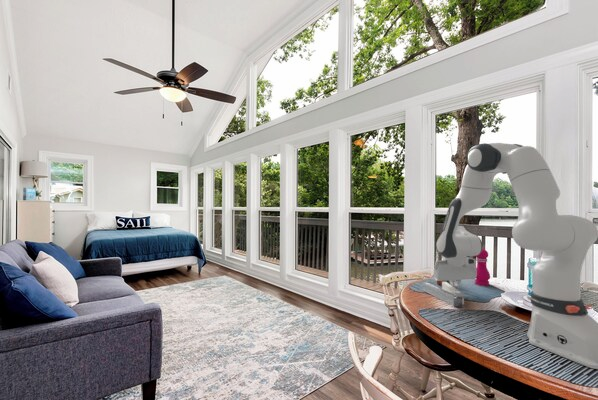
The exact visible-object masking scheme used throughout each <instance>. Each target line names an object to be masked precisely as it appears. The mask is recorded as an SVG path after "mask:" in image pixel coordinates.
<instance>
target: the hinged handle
mask: <svg viewBox="0 0 598 400" xmlns="http://www.w3.org/2000/svg"><path fill="white" fill-rule="evenodd" d="M441 289H443V290H445V291H448V292H450V293H452V294H454V295H455V296H456V297H460V298H462V305H465V299H467V298H469V297H468V295H466V293H463V292H461V291H460V290H459V289H455V288H454V287H453V286H451V285H450V284H449V283H447V282H442V285H441Z"/></svg>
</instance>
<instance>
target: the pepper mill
mask: <svg viewBox="0 0 598 400" xmlns="http://www.w3.org/2000/svg"><path fill="white" fill-rule="evenodd" d="M475 257H476V258H475V260H476V269H477V277H476V278H475V279H474V284H475V285H478V286H483V287H488V286H489V285H490V281H489V280H490V279H491V275H490V271H489V270H488V268H487V263H488V259H487V258H488V257H489V251H487V249H484V247H483V248H482V251H481V253H480V254H479V255H476V256H475Z"/></svg>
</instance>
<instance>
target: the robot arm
mask: <svg viewBox="0 0 598 400" xmlns="http://www.w3.org/2000/svg"><path fill="white" fill-rule="evenodd" d="M466 163H467V165H466V166H465V168H464V173H463V174H462V179H461V185H460V189H459V192H458V194H457V195H456V197H455V198H454V199H452V201H450V202H449V203H450V204H449V206H448V208H447V212H446V214H445V219H444V220H443V221H444V222H443V225H442V228H441V231H440V233H439V235H438V237H437V238H436V239H437V240H436V243H435V248H436V250H437V252H438V254H440V256H442V257H443V259H439V260H436V261H435V262H434V264H433V265H434V266H433V275H432V276H433V279H434V280H436V281H437V280H438V281H448V280H449V282H450V284H451V286H453V287H454V288H455V289H457V290H459V289H460V288H459V287H460V285H461V283H462V281H463V280H476V277H477V269H476V268H477V261H476V258H472V257H476V255H479V254H480V253H481V251H482V248H483V249H484V246H483V245H484V244H483V241H482V239H481V238H480V237H479V236H478V235H476V234H473V233H471V232H469V231H468V230H466V227H464V226H463V225H462V224H461V225H460V221H461V220H462V218H463V216H465V215H466V214H467V213H470V212H472V211H474V210H478V209H480V208H482V207H484V206H485V205H486V204H487V203H488V202H489V201H490V199H491V196H492V190H493V184H494V178H495V176H497V175H498V174H504V175H505V174H506V175H507V177H508V179H509V182H510V185H511V187H512V191H513V192H514V195H515V198H516V201H517V205H518V207H517V208H518V217H517V220H516V221H515V223H514V224H513V226H512V229H511V234H512V235H511V236H512V239H513V240H514V242H515V244H516V245H517V246H519V247H520V248H522V249H524V250H528V251H533V252H538V253H541V252H542V254H541V256H540V258H539V259H538V260H537V262H536V263H535V264H534V265H533V266H532V269H531V276H532V277H531V279H532V280H531V282H532V290H531V292H530V303H531V304H532V305H531V306H532V309H531V317H530V323H529V327H528V330H527V332H526V335H527V338H528V343H529V344H530V345H534V346H536V347H538V348H540V349H543V350H545V351H547V352H550V353H552V354H555V355H558V356H560V357H562V358H565V359H567V360H570V361H572V362H575V363H578V364H580V365H582V366H585V367H587V368H591V369H596V370H598V322H597V321H596V320H595V319H594V318H593V317H592V316H591V315H589V311H588V310H592V308H593V307H592V305H591V304H586V305H585V303H584V300H583V299H582V298H581V275H582V270H583V269H582V268H583V265H584V262H585V260H586V256H587V253H588V251H589V250H590V247H591V246H592V245H593V244H594V243H596V241H597V240H598V227H597V226H596V224H595V223H594V222H593V221H592V220H590V219H588V218H586V217H581V216H578V215H572V214H558V209H557V200H558V199H559V198H560V195H561V190H560V188H559V186H558V184H557V181H556V179H555V177H554V176H553V173H552V171H551V169H550V167H549V165H548V163H547V162H546V160H545V158H544V157H543V156H542V154H541V153H540V152H539V151H538V149H537V148H535V147H533V146H530V145H521V144H517V143H512V144H511V143H503V142H496V143H495V142H492V143H485V142H484V143H479V144H476V145H473V146H472V147H470V149H469V150H468V152H467V156H466ZM591 307H592V308H591Z"/></svg>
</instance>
